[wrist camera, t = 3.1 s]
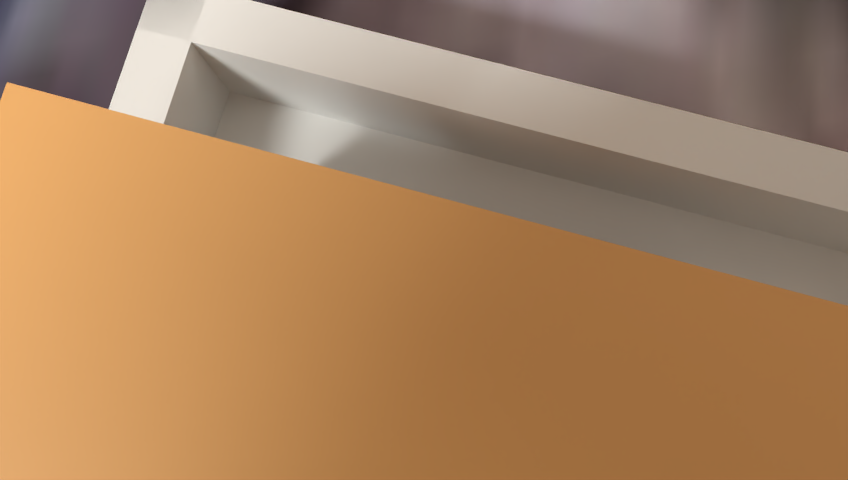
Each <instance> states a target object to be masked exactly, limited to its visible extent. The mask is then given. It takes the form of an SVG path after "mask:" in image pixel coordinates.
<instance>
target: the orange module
mask: <svg viewBox="0 0 848 480" xmlns="http://www.w3.org/2000/svg"><path fill="white" fill-rule="evenodd" d="M0 480H848V306H847V305H843V304H839V303H836V302H832V301H828V300H824V299H820V298H817V297H813V296H809V295H805V294H802V293H798V292H794V291H790V290H787V289H783V288H779V287H775V286H772V285H768V284H764V283H760V282H756V281H753V280H749V279H745V278H741V277H738V276H734V275H730V274H726V273H723V272H719V271H715V270H711V269H708V268H704V267H700V266H696V265H693V264H689V263H685V262H681V261H677V260H674V259H670V258H666V257H662V256H659V255H655V254H651V253H647V252H644V251H640V250H636V249H632V248H629V247H625V246H621V245H617V244H613V243H610V242H606V241H602V240H598V239H595V238H591V237H587V236H583V235H580V234H576V233H572V232H568V231H565V230H561V229H557V228H553V227H550V226H546V225H542V224H538V223H534V222H531V221H527V220H523V219H519V218H516V217H512V216H508V215H504V214H501V213H497V212H493V211H489V210H486V209H482V208H478V207H474V206H470V205H467V204H463V203H459V202H455V201H452V200H448V199H444V198H440V197H437V196H433V195H429V194H425V193H422V192H418V191H414V190H410V189H407V188H403V187H399V186H395V185H391V184H388V183H384V182H380V181H376V180H373V179H369V178H365V177H361V176H358V175H354V174H350V173H346V172H343V171H339V170H335V169H331V168H327V167H324V166H320V165H316V164H312V163H309V162H305V161H301V160H297V159H294V158H290V157H286V156H282V155H279V154H275V153H271V152H267V151H263V150H260V149H256V148H252V147H248V146H245V145H241V144H237V143H233V142H230V141H226V140H222V139H218V138H215V137H211V136H207V135H203V134H200V133H196V132H192V131H188V130H184V129H181V128H177V127H173V126H169V125H166V124H162V123H158V122H154V121H151V120H147V119H143V118H139V117H136V116H132V115H128V114H124V113H120V112H117V111H113V110H109V109H105V108H102V107H98V106H94V105H90V104H87V103H83V102H79V101H75V100H72V99H68V98H64V97H60V96H57V95H53V94H49V93H45V92H41V91H38V90H34V89H30V88H26V87H23V86H19V85H15V84H11V83H8V82H7V84H6V87H5V89H4V92H3V95H2V98H1V100H0Z"/></svg>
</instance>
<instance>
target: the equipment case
mask: <svg viewBox="0 0 848 480" xmlns="http://www.w3.org/2000/svg"><path fill="white" fill-rule="evenodd" d="M109 110H113V111H117V112H120V113H124V114H128V115H132V116H136V117H139V118H143V119H147V120H151V121H154V122H158V123H162V124H166V125H169V126H173V127H177V128H181V129H184V130H188V131H192V132H196V133H200V134H203V135H207V136H211V137H215V138H218V139H222V140H226V141H230V142H233V143H237V144H241V145H245V146H248V147H252V148H256V149H260V150H263V151H267V152H271V153H275V154H279V155H282V156H286V157H290V158H294V159H297V160H301V161H305V162H309V163H312V164H316V165H320V166H324V167H327V168H331V169H335V170H339V171H343V172H346V173H350V174H354V175H358V176H361V177H365V178H369V179H373V180H376V181H380V182H384V183H388V184H391V185H395V186H399V187H403V188H407V189H410V190H414V191H418V192H422V193H425V194H429V195H433V196H437V197H440V198H444V199H448V200H452V201H455V202H459V203H463V204H467V205H470V206H474V207H478V208H482V209H486V210H489V211H493V212H497V213H501V214H504V215H508V216H512V217H516V218H519V219H523V220H527V221H531V222H534V223H538V224H542V225H546V226H550V227H553V228H557V229H561V230H565V231H568V232H572V233H576V234H580V235H583V236H587V237H591V238H595V239H598V240H602V241H606V242H610V243H613V244H617V245H621V246H625V247H629V248H632V249H636V250H640V251H644V252H647V253H651V254H655V255H659V256H662V257H666V258H670V259H674V260H677V261H681V262H685V263H689V264H693V265H696V266H700V267H704V268H708V269H711V270H715V271H719V272H723V273H726V274H730V275H734V276H738V277H741V278H745V279H749V280H753V281H756V282H760V283H764V284H768V285H772V286H775V287H779V288H783V289H787V290H790V291H794V292H798V293H802V294H805V295H809V296H813V297H817V298H820V299H824V300H828V301H832V302H836V303H839V304H843V305H847V306H848V152H845V151H841V150H837V149H833V148H829V147H825V146H821V145H817V144H813V143H809V142H806V141H802V140H798V139H794V138H790V137H786V136H782V135H778V134H774V133H770V132H766V131H762V130H758V129H754V128H750V127H747V126H743V125H739V124H735V123H731V122H727V121H723V120H719V119H715V118H711V117H707V116H703V115H699V114H695V113H692V112H688V111H684V110H680V109H676V108H672V107H668V106H664V105H660V104H656V103H652V102H648V101H644V100H640V99H636V98H633V97H629V96H625V95H621V94H617V93H613V92H609V91H605V90H601V89H597V88H593V87H589V86H585V85H581V84H577V83H574V82H570V81H566V80H562V79H558V78H554V77H550V76H546V75H542V74H538V73H534V72H530V71H526V70H522V69H518V68H515V67H511V66H507V65H503V64H499V63H495V62H491V61H487V60H483V59H479V58H475V57H471V56H467V55H463V54H459V53H456V52H452V51H448V50H444V49H440V48H436V47H432V46H428V45H424V44H420V43H416V42H412V41H408V40H404V39H400V38H397V37H393V36H389V35H385V34H381V33H377V32H373V31H369V30H365V29H361V28H357V27H353V26H349V25H345V24H341V23H338V22H334V21H330V20H326V19H322V18H318V17H314V16H310V15H306V14H302V13H298V12H294V11H290V10H286V9H282V8H279V7H275V6H271V5H267V4H263V3H259V2H255V1H251V0H147V1H146V4H145V7H144V9H143V12H142V15H141V18H140V21H139V24H138V27H137V29H136V32H135V35H134V38H133V41H132V44H131V47H130V49H129V52H128V55H127V58H126V61H125V64H124V67H123V69H122V72H121V75H120V78H119V81H118V84H117V87H116V89H115V92H114V95H113V98H112V101H111V104H110V107H109Z"/></svg>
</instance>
